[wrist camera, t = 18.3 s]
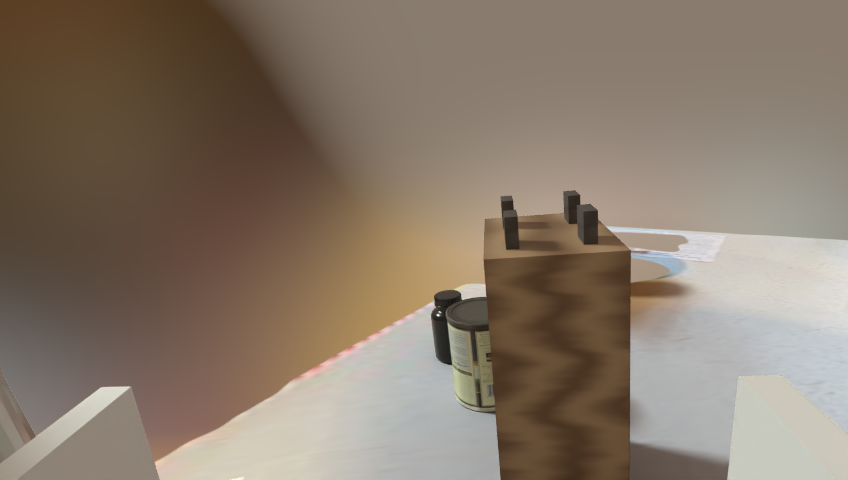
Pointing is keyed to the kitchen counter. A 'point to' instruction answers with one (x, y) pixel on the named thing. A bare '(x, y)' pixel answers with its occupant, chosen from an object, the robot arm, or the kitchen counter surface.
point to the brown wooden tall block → (559, 343)
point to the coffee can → (471, 354)
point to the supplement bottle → (443, 323)
